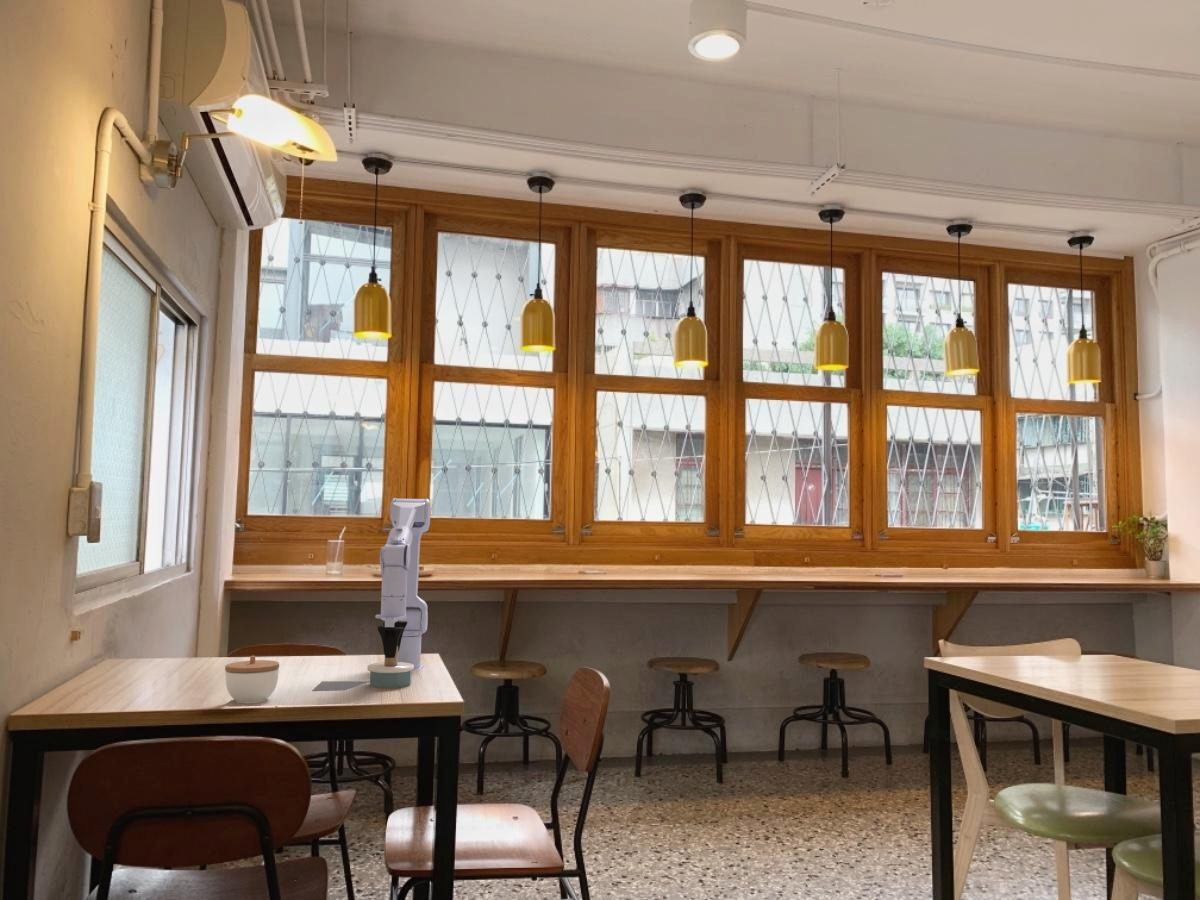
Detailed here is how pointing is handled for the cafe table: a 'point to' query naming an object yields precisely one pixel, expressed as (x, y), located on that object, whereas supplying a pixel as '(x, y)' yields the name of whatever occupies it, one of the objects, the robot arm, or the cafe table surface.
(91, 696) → the cafe table surface
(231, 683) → the lidded jar
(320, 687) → the mat
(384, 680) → the bowl
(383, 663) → the lid
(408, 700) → the cafe table surface
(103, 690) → the cafe table surface
